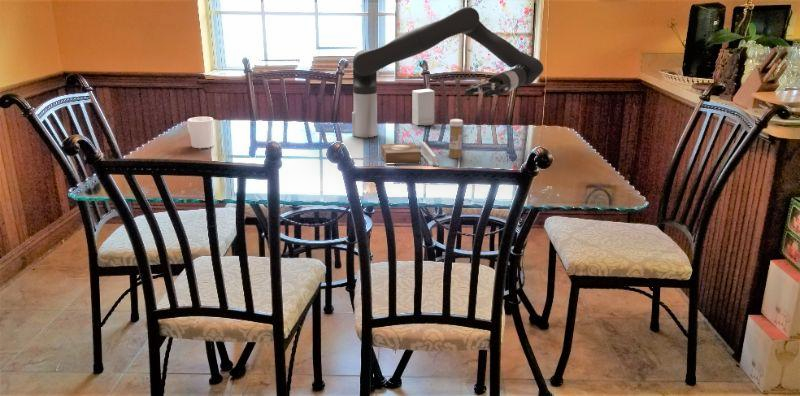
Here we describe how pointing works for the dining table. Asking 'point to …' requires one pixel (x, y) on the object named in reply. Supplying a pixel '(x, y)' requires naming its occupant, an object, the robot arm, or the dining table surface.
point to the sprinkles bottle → (455, 138)
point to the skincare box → (423, 107)
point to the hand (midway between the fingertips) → (475, 94)
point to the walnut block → (401, 153)
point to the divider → (428, 154)
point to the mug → (201, 132)
